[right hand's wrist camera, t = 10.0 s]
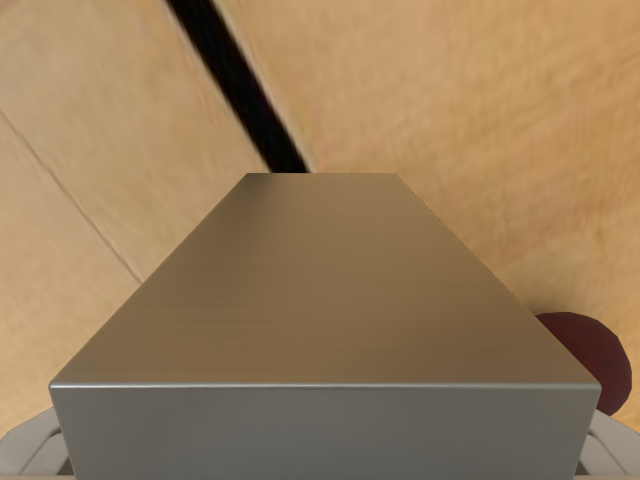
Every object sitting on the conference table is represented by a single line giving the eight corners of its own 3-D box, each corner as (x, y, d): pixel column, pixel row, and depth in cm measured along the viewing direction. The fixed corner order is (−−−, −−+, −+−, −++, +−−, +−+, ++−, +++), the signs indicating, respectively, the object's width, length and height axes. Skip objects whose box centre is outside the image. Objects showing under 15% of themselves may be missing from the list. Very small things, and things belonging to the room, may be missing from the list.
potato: (545, 387, 32) (602, 462, 26) (472, 347, 31) (513, 415, 24) (609, 323, 30) (690, 386, 24) (534, 276, 29) (598, 329, 22)
